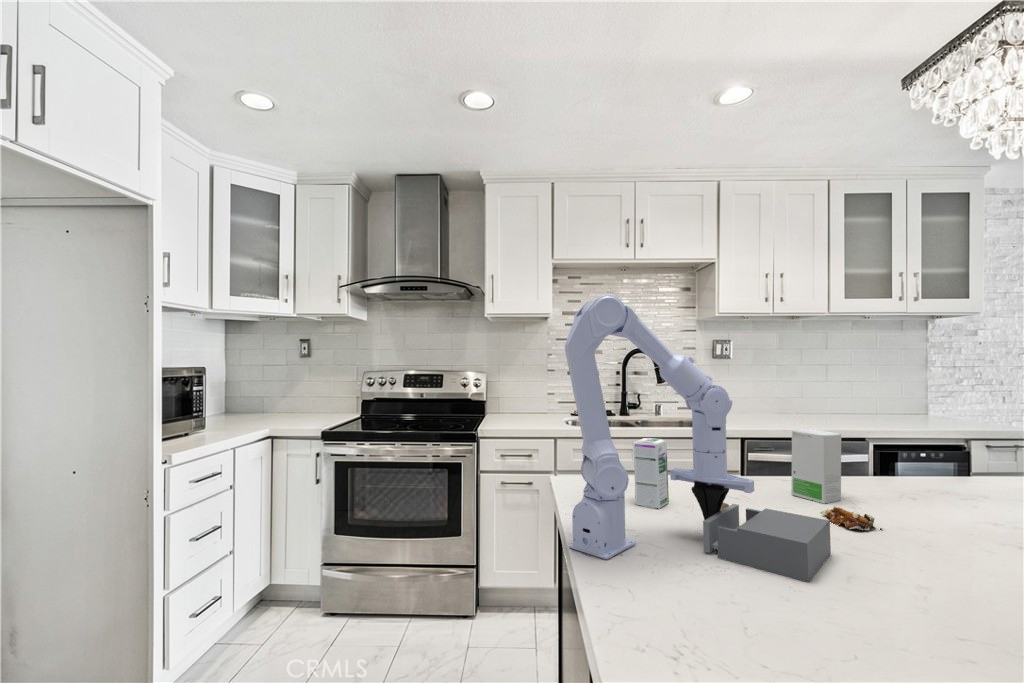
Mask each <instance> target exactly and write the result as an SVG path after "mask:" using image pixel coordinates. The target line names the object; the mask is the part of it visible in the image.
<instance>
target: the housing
mask: <svg viewBox="0 0 1024 683" xmlns="http://www.w3.org/2000/svg"><path fill="white" fill-rule="evenodd" d="M717 536H718V549H717V558H718V559H721V560H724V561H729V562H732V563H737V564H740V565H743V566H747V567H751V568H755V569H758V570H762V571H765V572H769V571H770V572H769V573H772V574H777V575H780V576H784V577H787V578H792V579H796V580H798V581H802V582H806V583H809V582H810V581H811V579H813V577H814V576H815V575H816V573H817V572H818V571H819V570H820V568H821V567H822V566H823V565H824V564H823V563H825V562H826V561H827V560H828V559H827V558H829V557H830V556H831V555H832V552H831V548H832V547H831V523H830V520H829V519H823V518H819V517H813V516H808V515H802V514H797V513H791V512H786V511H781V510H776V509H771V508H764V509H762V510H758V509H754V508H753V509H752V508H747V507H746V509H745V521H744V522H743V523H742V524H741V525H739V527H738V528H737V530H735V529H730V528H726V527H721V526H718V527H717ZM830 554H831V555H830ZM826 559H827V560H826Z"/></svg>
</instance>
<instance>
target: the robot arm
mask: <svg viewBox="0 0 1024 683" xmlns="http://www.w3.org/2000/svg"><path fill="white" fill-rule="evenodd" d="M607 336H613V337H614V336H615V337H619V338H623V339H624V338H625V339H627V340H629V341H630V342H631V343H632V344H633V345H634V346H635V347H636V348H638V349H639V350H640V351H641V352H642V353H643V354H644V355H645V356H647V357H648V358H649V359H651V360H652V361H653V362H654V363H655V364H656V365H658V367H659V376H660V377H661V379H662V380H663V381H664V382H666V383H667V384H668V385H669V386H670V387H671V388H672V389H673V390H674V391H675V392H676V393H677V394H678V395H679V396H680V397H681V398H683V400H684V402H685V405H686V407H687V408H688V410H690V411H691V417H692V418H691V420H692V421H691V422H692V425H691V426H692V428H691V429H692V430H691V431H692V464H693V466H692V467H693V468H692V469H688V468H677V467H675V468H670V471H669V472H670V473H669V474H670V478H669V479H670V480H671V481H682V482H688V483H693V486H692V487H691V492H692V493H693V495H694V497H695V499H696V501H697V503H698V505H699V507H700V510H701V513H702V516H703V521H704V520H706V519H708V518H709V517H711V516H713V515H715V514H716V513H718V512H720V509H721V506H722V504H723V503H724V502H725V499H726V497H727V495H728V493H729V491H730V490H734V491H735V490H736V491H741V492H744V493H747V494H752V493H754V492H755V480H754V479H748V478H746V477H745V478H744V477H740V476H736V475H732V474H730V473H729V474H728V464H727V463H728V461H727V455H728V454H727V425H726V424H727V416H728V414H729V413H730V411H731V409H732V407H733V400H731V399H730V397H729V392H727V391H726V389H725V388H724V387H722V386H721V385H716V384H713V377H711V376H710V375H705V373H703V372H702V371H701V370H700V368H698V367H697V366H696V365H695V364H694V363H695V360H694V358H692V356H690V355H688V356H686V355H685V354H682V353H676V354H674V353H673V352H672V351H671V350H670V349H669V348H668V347H667V346H666V345H665V344H664V343H663V342H662V341H661V340H660V339H659V338H658V337H657V335H656V334H655V333H654V332H653V331H652V330H651V329H650V328H649V327H648V326H647V325H646V323H644V322H643V321H642V320H641V319H640V317H639V316H638V315H637V314H636V312H635V311H634V309H633V308H631V307H630V306H628V305H625V303H624V302H623V301H622V300H621V298H619V297H617V296H616V295H613V294H603V295H600V296H599V297H597V298H595V299H593V300H590V301H587V302H586V303H585V304H583V305H582V306H581V307H580V308H579V310H578V311H577V312H576V313H575V314H574V317H573V322H572V325H571V327H570V329H569V332H568V336H567V337H566V341H565V343H564V351H565V352H564V353H565V357H566V362H567V367H568V372H569V377H570V381H571V387H572V390H573V391H572V392H573V397H574V402H575V407H576V411H577V418H578V423H579V427H580V431H581V437H582V447H581V453H582V461H581V465H580V472H581V476H582V478H583V481H585V482H586V484H585V486H584V489H583V492H582V493H583V494H582V499H581V500H580V501H579V502H578V503H577V504H575V505H574V507H573V510H572V516H571V517H572V543H569V544H568V547H569V549H572V550H577V551H579V552H582V553H585V554H588V555H591V556H595V557H598V558H601V559H602V560H603V559H604V560H609V559H610V558H612V557H614V556H616V555H617V554H620V553H621V552H624V551H625V550H628V549H629V548H631V547H633V546H635V545H636V541H635V540H633V539H629V538H626V505H625V504H626V500H625V499H626V498H625V497H626V496H625V493H626V490H627V489H628V486H629V480H630V479H629V474H628V471H627V470H626V468H625V467H624V465H623V464H622V463H621V461H620V457H619V452H618V450H617V449H616V446H615V444H614V442H613V439H612V434H611V429H610V424H609V419H608V415H607V410H606V404H605V400H604V396H603V389H602V385H601V380H600V375H599V368H598V366H597V360H596V355H595V353H596V350H598V348H599V346H600V345H601V344H602V343H603V341H604V340H605V338H607Z"/></svg>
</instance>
